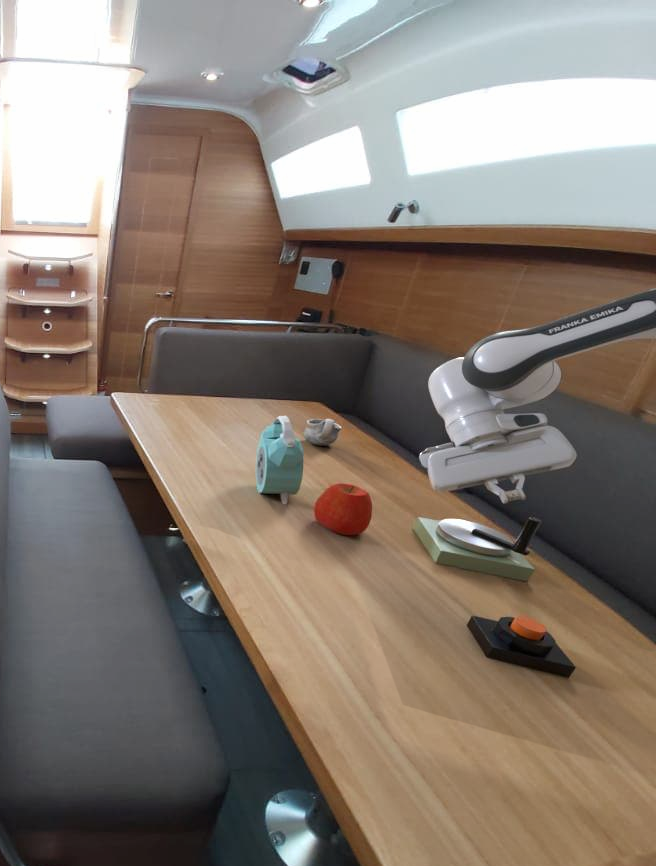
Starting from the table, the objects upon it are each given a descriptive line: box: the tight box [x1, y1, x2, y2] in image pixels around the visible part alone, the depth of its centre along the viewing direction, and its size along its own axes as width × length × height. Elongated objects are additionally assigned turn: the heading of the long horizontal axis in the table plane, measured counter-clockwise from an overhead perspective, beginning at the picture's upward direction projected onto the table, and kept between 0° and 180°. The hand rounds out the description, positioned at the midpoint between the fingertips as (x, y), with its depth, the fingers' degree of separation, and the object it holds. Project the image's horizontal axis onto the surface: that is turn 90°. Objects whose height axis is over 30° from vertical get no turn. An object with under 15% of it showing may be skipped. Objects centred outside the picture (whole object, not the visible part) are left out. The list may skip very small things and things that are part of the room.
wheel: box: [437, 516, 543, 556], centre depth 100 cm, size 14×12×9 cm
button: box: [510, 615, 547, 641], centre depth 77 cm, size 4×4×2 cm
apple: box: [313, 482, 373, 536], centre depth 110 cm, size 11×11×11 cm
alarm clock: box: [255, 415, 305, 505], centre depth 123 cm, size 17×10×20 cm, turn 165°
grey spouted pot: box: [303, 418, 342, 447], centre depth 158 cm, size 10×12×10 cm
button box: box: [466, 615, 577, 679], centre depth 78 cm, size 10×8×4 cm
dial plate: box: [412, 516, 536, 583], centre depth 104 cm, size 15×15×3 cm
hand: (514, 500), depth 90 cm, fingers closed
